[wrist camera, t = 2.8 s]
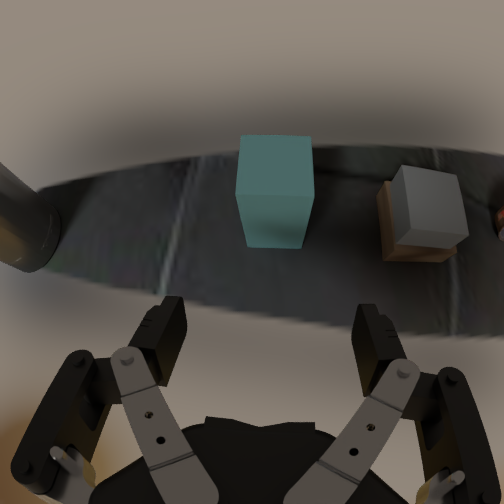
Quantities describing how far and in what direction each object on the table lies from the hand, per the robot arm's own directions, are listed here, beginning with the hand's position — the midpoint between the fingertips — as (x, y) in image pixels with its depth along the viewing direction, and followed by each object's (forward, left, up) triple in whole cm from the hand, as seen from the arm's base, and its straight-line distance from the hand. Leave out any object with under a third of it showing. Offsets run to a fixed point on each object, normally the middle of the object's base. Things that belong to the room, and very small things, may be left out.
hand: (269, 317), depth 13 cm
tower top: (+14, +10, -10) cm, 20 cm away
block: (0, +10, -13) cm, 17 cm away
